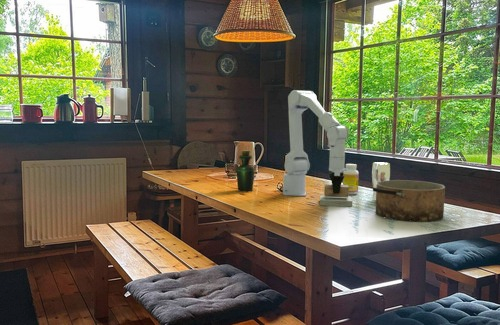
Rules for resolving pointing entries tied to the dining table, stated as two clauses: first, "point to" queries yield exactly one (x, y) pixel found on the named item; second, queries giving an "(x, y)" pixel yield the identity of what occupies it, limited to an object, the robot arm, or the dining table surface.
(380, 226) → the dining table surface
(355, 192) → the supplement bottle
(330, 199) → the dock
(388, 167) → the beer glass
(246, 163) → the potion bottle
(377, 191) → the cooking pot
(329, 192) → the pallet
